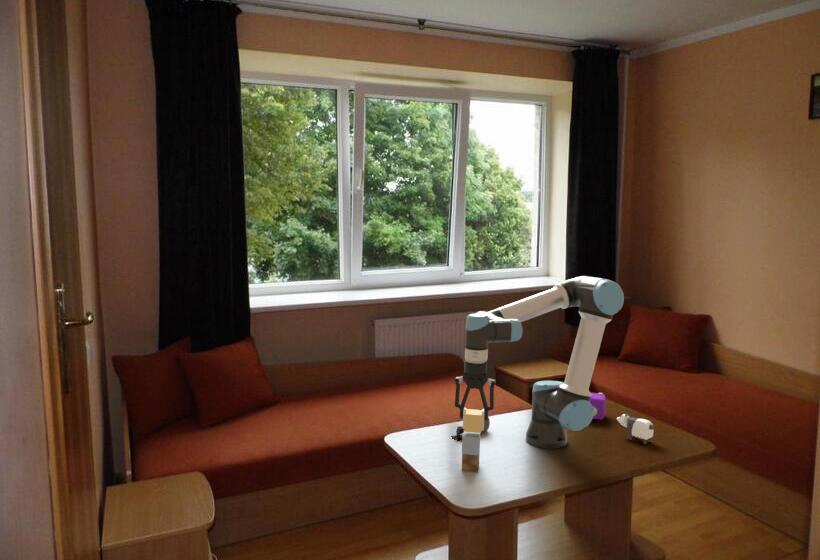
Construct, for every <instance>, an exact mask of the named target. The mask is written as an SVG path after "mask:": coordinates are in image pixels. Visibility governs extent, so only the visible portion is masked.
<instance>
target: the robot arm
mask: <svg viewBox="0 0 820 560" xmlns="http://www.w3.org/2000/svg"><path fill="white" fill-rule="evenodd" d="M623 291H624V290H623V289H622V288H621V286H620V285H619V283H617V282H615V281H613V280H610V279H607V278H601V277H594V276H589V275H581V276H576V277H574V278H570V279H566V280H565V281H562V282H558V283H556V284H554V285H553V287H552V288H551V289H550V288H549V289H548V290H547V289H546V290H545V291H542V292H538V293H536V294H534V295H531V296H528V297H525V298H523V299H520V300H517V301H514V302H511V303H509V304H506V305H504V306H503V305H502V306H501V307H498V308H495V309H492V310H491V309H490V310H489V311H486V310H479V311H477V312H475V313H470V314H468V315H467V316H466V321H465V327H464V329H465V337H464V340H465V344H464V346H465V347H464V364H463V365H464V367H463V368H464V370H463V375H461V376H456V377H455V379H454V382H455V396H454V399H455V400H454V407H455V408H458V409H459V418H460V419H462V426H463V427H462V428H463V429H465V413H466V409H467V407H465V405H466V403H467V400H468V397H469V393H470V390H472V389H476V390H478V391H479V394H480V398H481V402H482V406H483V408H481V409H482V431H484V420H487V419H488V417H489V412H490V411H493V410H494V409H495V407H494V406H495V405H494V403H495V401H494V400H495V397H494V396H495V391H494V390H495V386H496V383H497V382H496V379H495V378H489V376H488V362H487V361H488V358H489V357H488V354H489V344H490V343H506V342H510V343H512V342H517V341H519V340H520V339H521V338H522V337H523V326H522V322H525V321H528V320H530V319H533V318H535V317H539V316H542V315H543V314H547V313H549V312H552V311H555V310H558V309H560V308H561V309H562V310H564V309H568V308H571V307H573V308H575V307H579V309H578V314H579V316H580V317H581V318H580V321H579V325H578V329H577V333H576V337H575V340H574V345H573V349H572V352H571V356H570V360H569V363H568V367H567V370H566V374H565V378H564V381H559V380H540V381H536V382H534V384H533V387H532V391H531V392H532V396H531V397H532V398H531V399H532V400H531V419H530V422H529V425H528V428H527V431H526V433H525V440H526V442H527V443H528V444H530V445H531V446H534V447H537V448H541V449H550V450H551V449H552V448H553V449H560V447H561V448H563V446H564V447H565V446H566V445H567V443H568V441H567V440H568V437H567V432H566V429H568V430H570V431H574V432H577V431H581V430H583V429H584V428H587V427H588V426H589V425H590V424H591V422H592V420H593V419H592V418H593V415H594V409H593V408H592V405H591V404H590V399H591V393H592V392H591V391H590V390H589V388H590V385H591V382H592V381H591V380H592V377H593V373H594V370H595V365H596V363H597V359H598V356H599V352H600V348H601V344H602V341H603V336H604V332H605V328H606V325H607V324H608V323H610V322H611V321H612V320H613V317H614V315H615V314H617V313H619V312H620V311H621V309H622V308H623V305H624V304H625V303H624V301H625V295H624V292H623ZM462 382H464V383H465V384H466V389H465V392H464V394H463V397H462V400H461V402H460V396H461V395H460V393H461V384H462ZM487 383H488V386H489V405H488V401H487V397H486V392H485V390H484V388H485V387H484V386H485V385H486V384H487Z"/></svg>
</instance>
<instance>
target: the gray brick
mask: <svg viewBox="0 0 820 560" xmlns="http://www.w3.org/2000/svg"><path fill="white" fill-rule="evenodd" d="M462 434H463V436H462V441H461V455H462V454H469V455H478V454H479V450H480V451H481V433H475V432H465V431H464V433H462Z"/></svg>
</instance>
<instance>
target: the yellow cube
mask: <svg viewBox="0 0 820 560" xmlns="http://www.w3.org/2000/svg"><path fill="white" fill-rule="evenodd" d="M481 431H482V410H478V409H472V408H466V413H465V432H475V433H480V434H482V433H481Z"/></svg>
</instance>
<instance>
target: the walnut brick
mask: <svg viewBox="0 0 820 560" xmlns="http://www.w3.org/2000/svg"><path fill="white" fill-rule="evenodd" d="M480 453H481V449H480V450H479V454H478V455H469V454H462V453H461V471H462V472H471V473H478V472H479V469H480Z"/></svg>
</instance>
